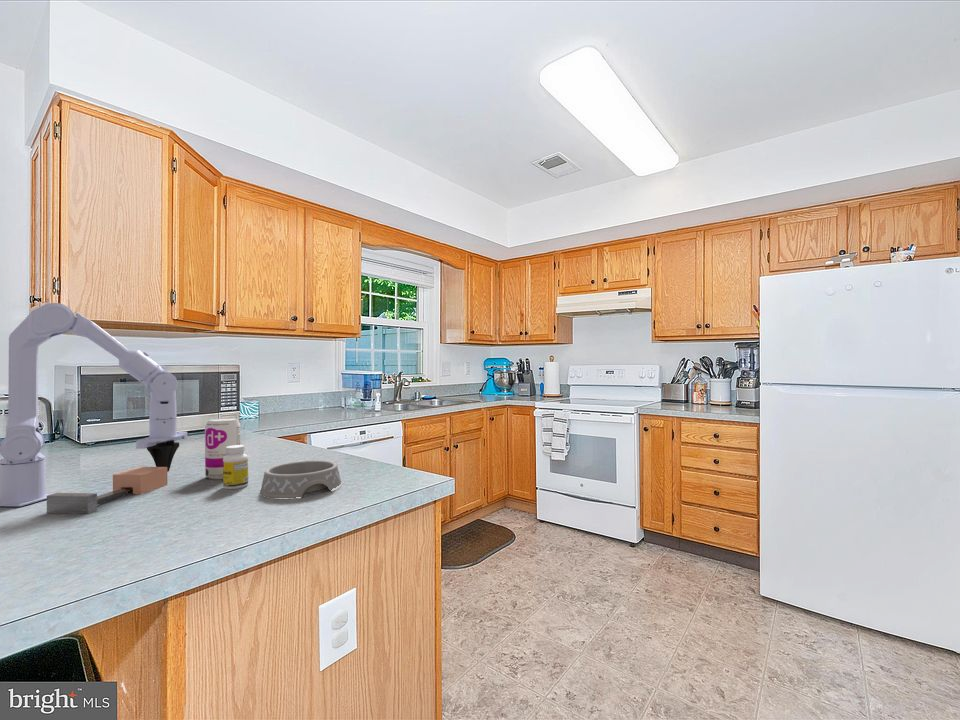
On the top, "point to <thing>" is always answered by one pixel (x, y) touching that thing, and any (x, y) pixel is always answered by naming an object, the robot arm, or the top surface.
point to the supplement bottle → (235, 467)
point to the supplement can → (219, 444)
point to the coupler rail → (79, 501)
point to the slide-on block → (140, 479)
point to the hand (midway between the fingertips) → (163, 471)
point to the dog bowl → (299, 478)
